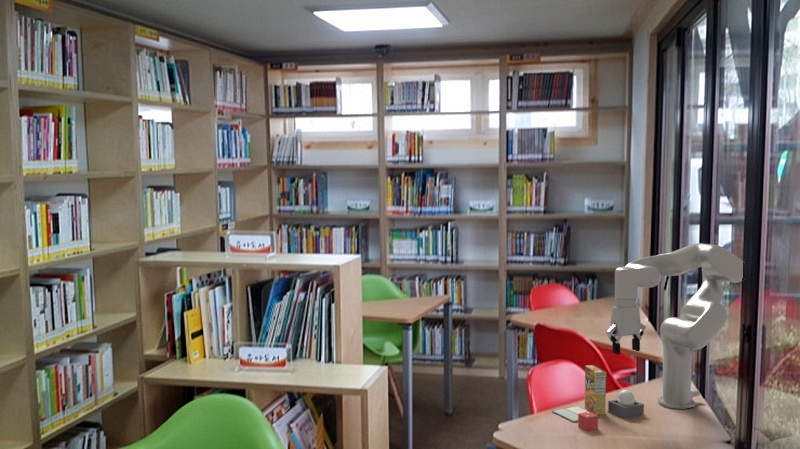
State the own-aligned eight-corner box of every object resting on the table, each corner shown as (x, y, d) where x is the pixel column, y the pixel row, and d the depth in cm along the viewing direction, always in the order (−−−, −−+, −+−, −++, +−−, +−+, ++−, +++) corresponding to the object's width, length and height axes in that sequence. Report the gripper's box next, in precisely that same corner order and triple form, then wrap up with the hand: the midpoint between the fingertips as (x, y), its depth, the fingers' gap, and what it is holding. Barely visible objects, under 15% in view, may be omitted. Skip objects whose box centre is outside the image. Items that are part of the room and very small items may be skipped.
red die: (588, 424, 237) (588, 411, 237) (597, 428, 233) (598, 415, 233) (578, 426, 235) (578, 413, 235) (587, 431, 231) (587, 417, 231)
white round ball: (626, 402, 251) (626, 386, 251) (637, 406, 246) (637, 391, 246) (614, 404, 249) (614, 389, 248) (625, 409, 244) (625, 393, 243)
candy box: (583, 407, 255) (584, 365, 253) (594, 406, 255) (595, 364, 254) (595, 415, 246) (595, 372, 245) (606, 414, 247) (606, 371, 246)
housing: (626, 407, 253) (626, 397, 253) (643, 414, 245) (643, 404, 245) (608, 411, 249) (608, 401, 249) (625, 418, 242) (625, 408, 242)
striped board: (576, 407, 255) (576, 405, 254) (599, 417, 244) (599, 416, 244) (552, 412, 250) (552, 410, 250) (573, 422, 239) (573, 421, 239)
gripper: (637, 298, 252) (637, 346, 253) (599, 303, 244) (599, 352, 246) (653, 301, 245) (653, 351, 246) (614, 307, 237) (614, 357, 239)
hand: (626, 351), depth 246 cm, fingers open, 8 cm apart
